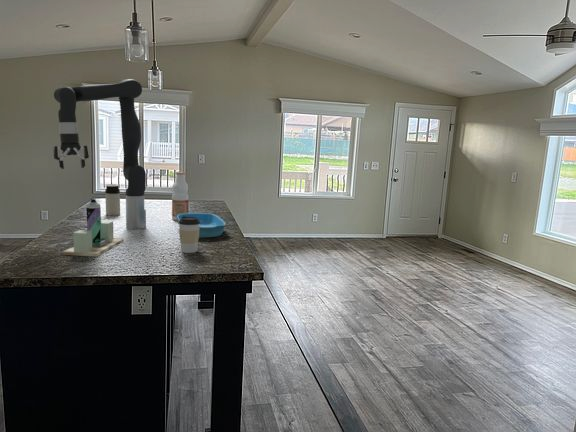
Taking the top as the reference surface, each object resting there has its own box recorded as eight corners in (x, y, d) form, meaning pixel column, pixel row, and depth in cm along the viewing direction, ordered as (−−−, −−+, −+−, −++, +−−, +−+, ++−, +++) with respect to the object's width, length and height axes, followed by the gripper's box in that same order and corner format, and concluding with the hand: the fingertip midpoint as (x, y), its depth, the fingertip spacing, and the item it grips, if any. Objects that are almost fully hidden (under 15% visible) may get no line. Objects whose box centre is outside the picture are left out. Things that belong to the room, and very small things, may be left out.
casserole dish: (229, 239, 212) (230, 225, 211) (184, 241, 204) (184, 226, 203) (213, 224, 246) (213, 211, 245) (174, 225, 237) (174, 212, 236)
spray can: (87, 243, 185) (86, 198, 182) (101, 242, 188) (100, 197, 184) (87, 246, 180) (86, 200, 177) (101, 245, 183) (100, 199, 179)
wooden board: (93, 239, 197) (93, 237, 197) (123, 241, 197) (123, 238, 197) (62, 254, 172) (62, 251, 171) (96, 256, 171) (96, 253, 171)
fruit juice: (169, 218, 253) (169, 171, 248) (183, 217, 259) (183, 171, 254) (177, 221, 246) (177, 173, 241) (191, 220, 253) (191, 172, 248)
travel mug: (115, 216, 252) (114, 186, 249) (103, 215, 254) (102, 185, 250) (122, 214, 260) (122, 184, 257) (111, 213, 261) (110, 183, 258)
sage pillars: (102, 237, 196) (102, 220, 195) (113, 238, 196) (113, 221, 195) (74, 252, 172) (73, 232, 170) (86, 252, 172) (85, 233, 170)
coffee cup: (203, 249, 189) (204, 216, 187) (192, 254, 181) (193, 220, 178) (185, 247, 192) (186, 214, 190) (174, 251, 184) (174, 217, 181)
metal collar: (90, 241, 188) (90, 237, 188) (109, 243, 188) (109, 238, 188) (80, 246, 180) (79, 242, 180) (100, 247, 180) (100, 243, 179)
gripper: (53, 133, 187) (57, 169, 190) (87, 132, 196) (91, 167, 199) (49, 132, 193) (54, 168, 196) (83, 132, 201) (87, 166, 205)
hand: (72, 168), depth 198 cm, fingers open, 8 cm apart
